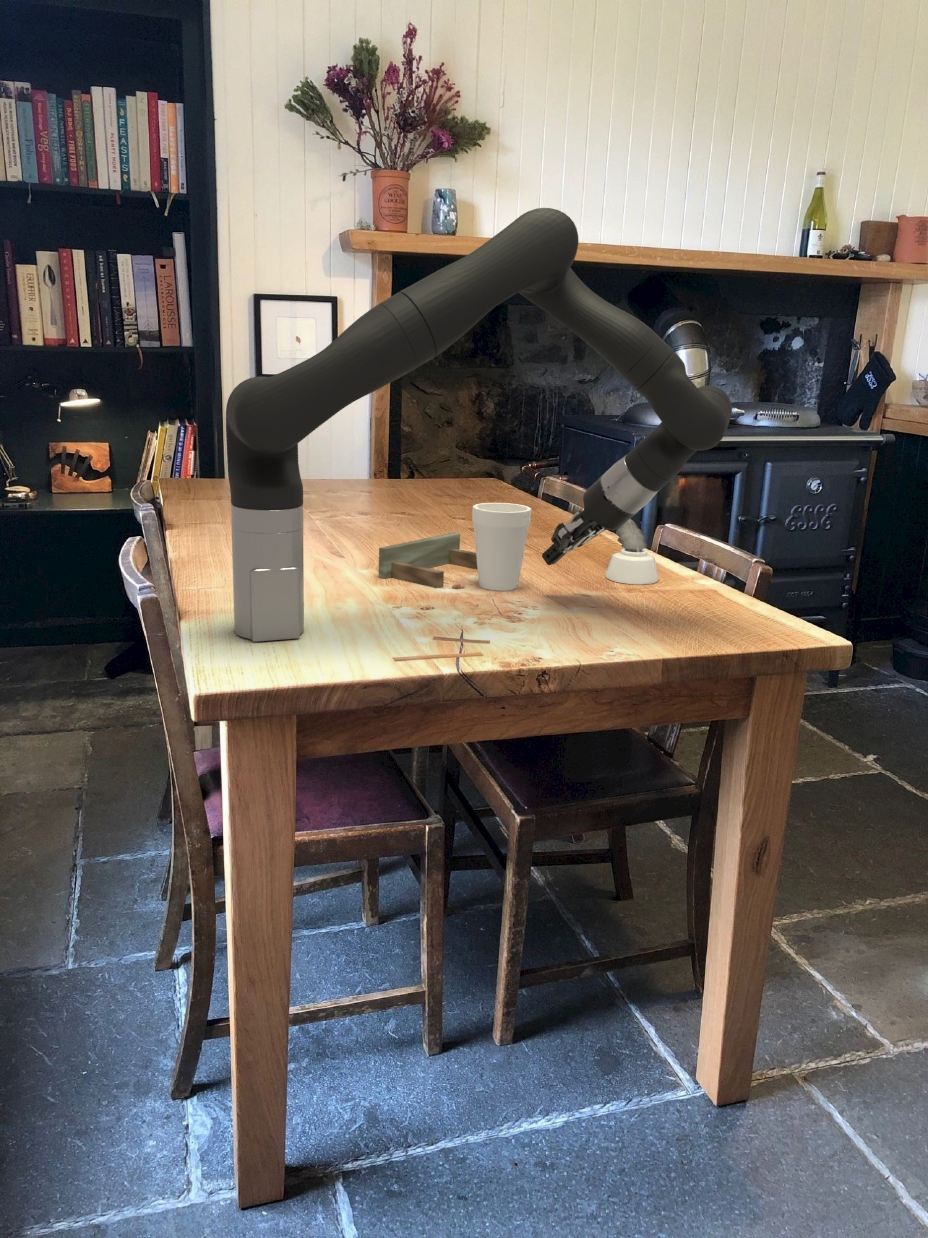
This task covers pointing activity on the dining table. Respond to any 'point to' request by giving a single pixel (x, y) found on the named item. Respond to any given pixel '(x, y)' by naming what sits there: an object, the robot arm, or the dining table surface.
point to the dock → (424, 559)
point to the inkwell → (632, 558)
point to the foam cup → (500, 543)
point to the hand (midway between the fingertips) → (547, 560)
